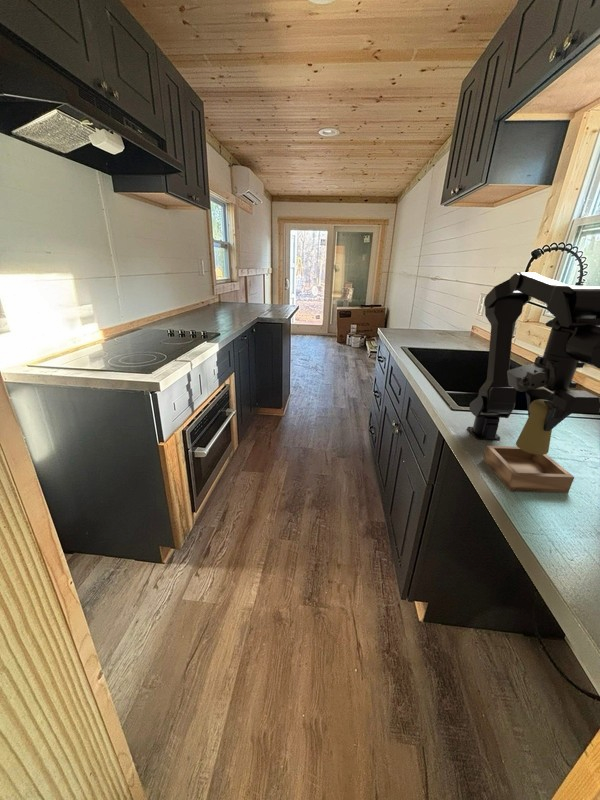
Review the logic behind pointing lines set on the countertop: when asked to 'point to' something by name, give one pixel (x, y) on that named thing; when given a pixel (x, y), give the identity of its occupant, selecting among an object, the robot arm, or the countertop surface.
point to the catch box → (527, 470)
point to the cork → (535, 430)
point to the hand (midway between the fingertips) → (538, 425)
